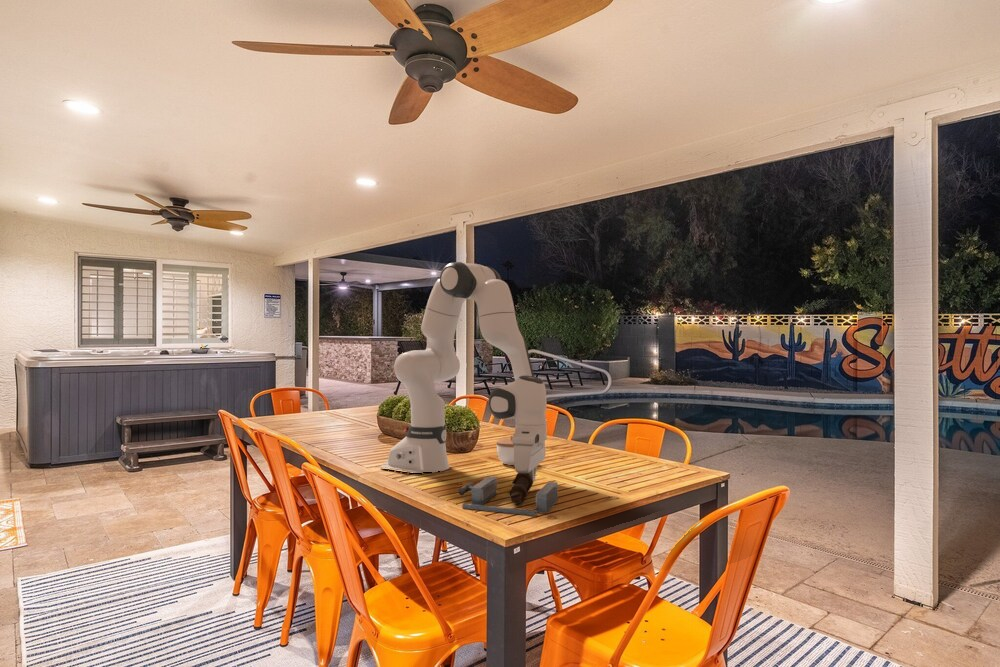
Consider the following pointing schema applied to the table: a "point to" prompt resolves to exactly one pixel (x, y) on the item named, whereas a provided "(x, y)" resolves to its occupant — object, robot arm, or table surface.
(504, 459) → the lidded jar
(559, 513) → the table surface
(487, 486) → the jaw
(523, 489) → the bolt
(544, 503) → the vise
